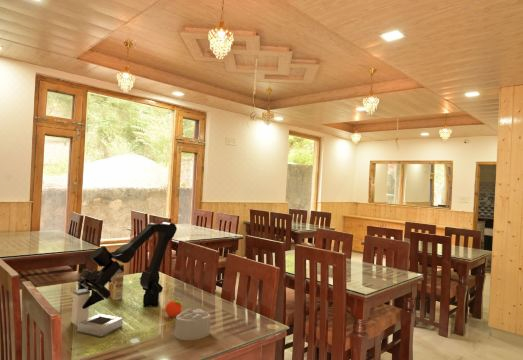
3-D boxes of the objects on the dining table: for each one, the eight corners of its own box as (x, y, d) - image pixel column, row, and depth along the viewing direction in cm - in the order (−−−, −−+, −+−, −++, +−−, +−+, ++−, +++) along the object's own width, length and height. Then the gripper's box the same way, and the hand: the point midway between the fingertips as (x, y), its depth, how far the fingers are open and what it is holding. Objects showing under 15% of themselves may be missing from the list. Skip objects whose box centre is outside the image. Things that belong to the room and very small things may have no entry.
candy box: (122, 299, 172) (124, 267, 173) (114, 300, 169) (116, 268, 170) (115, 294, 179) (117, 264, 179) (107, 295, 176) (109, 264, 176)
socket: (99, 322, 142) (99, 313, 142) (121, 326, 139) (122, 318, 139) (77, 332, 132) (78, 323, 132) (101, 337, 129) (102, 328, 129)
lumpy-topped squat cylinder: (212, 335, 137) (214, 312, 137) (182, 343, 128) (184, 319, 128) (198, 326, 144) (200, 304, 145) (169, 333, 136) (170, 310, 136)
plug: (82, 319, 145) (84, 288, 145) (87, 322, 142) (89, 291, 142) (71, 322, 141) (73, 290, 142) (76, 325, 138) (78, 293, 139)
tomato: (186, 315, 155) (187, 299, 155) (178, 321, 149) (179, 304, 149) (170, 312, 157) (171, 296, 158) (161, 318, 151) (162, 301, 151)
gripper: (83, 257, 151) (53, 288, 142) (105, 265, 139) (74, 299, 131) (100, 273, 157) (72, 303, 148) (122, 282, 145) (93, 315, 136)
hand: (77, 305), depth 141 cm, fingers open, 9 cm apart
